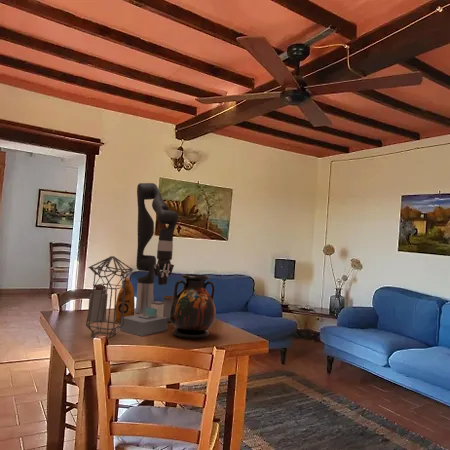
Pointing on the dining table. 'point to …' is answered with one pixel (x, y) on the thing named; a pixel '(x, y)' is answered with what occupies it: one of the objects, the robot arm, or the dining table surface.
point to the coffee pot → (167, 306)
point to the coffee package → (125, 302)
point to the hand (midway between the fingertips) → (162, 284)
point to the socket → (144, 325)
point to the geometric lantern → (106, 293)
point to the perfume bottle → (96, 304)
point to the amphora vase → (193, 307)
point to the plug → (158, 307)
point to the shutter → (148, 313)
